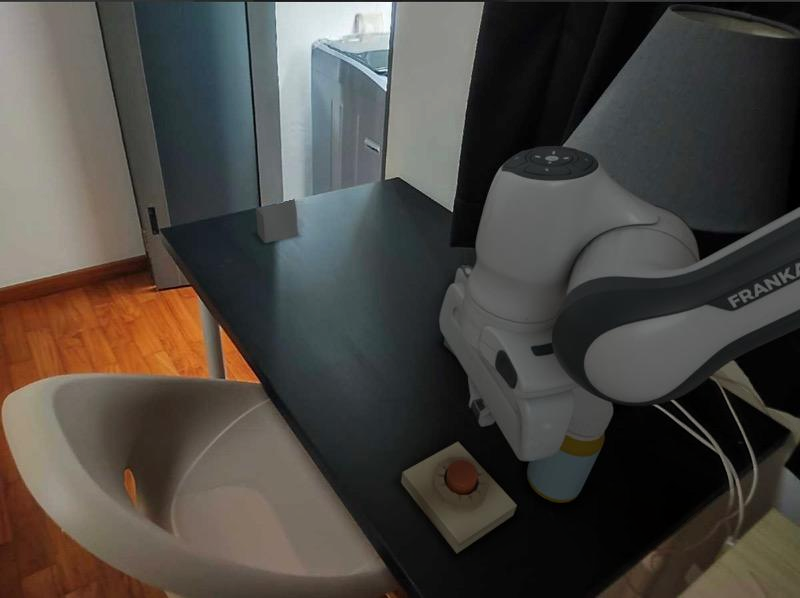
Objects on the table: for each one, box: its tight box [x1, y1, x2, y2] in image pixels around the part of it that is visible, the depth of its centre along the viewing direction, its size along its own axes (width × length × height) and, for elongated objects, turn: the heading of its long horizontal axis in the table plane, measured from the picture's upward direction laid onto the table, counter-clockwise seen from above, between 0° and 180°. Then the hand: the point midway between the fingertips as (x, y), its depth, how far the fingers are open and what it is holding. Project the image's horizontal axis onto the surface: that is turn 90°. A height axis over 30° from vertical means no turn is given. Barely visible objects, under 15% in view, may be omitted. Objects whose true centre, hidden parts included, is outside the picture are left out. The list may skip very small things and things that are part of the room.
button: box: [446, 460, 478, 494], centre depth 68 cm, size 4×4×2 cm
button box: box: [400, 441, 518, 554], centre depth 70 cm, size 11×9×4 cm
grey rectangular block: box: [255, 198, 298, 244], centre depth 112 cm, size 4×7×10 cm, turn 123°
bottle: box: [526, 386, 614, 504], centre depth 70 cm, size 7×7×15 cm
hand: (480, 415), depth 62 cm, fingers closed
